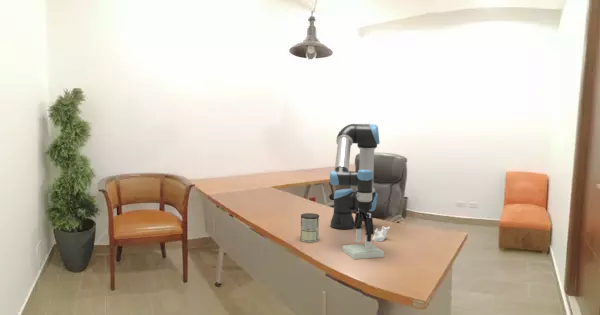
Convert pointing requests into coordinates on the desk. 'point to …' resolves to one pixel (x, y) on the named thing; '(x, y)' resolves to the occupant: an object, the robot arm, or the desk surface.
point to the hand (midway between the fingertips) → (362, 244)
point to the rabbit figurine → (380, 234)
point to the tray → (362, 251)
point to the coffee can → (309, 227)
